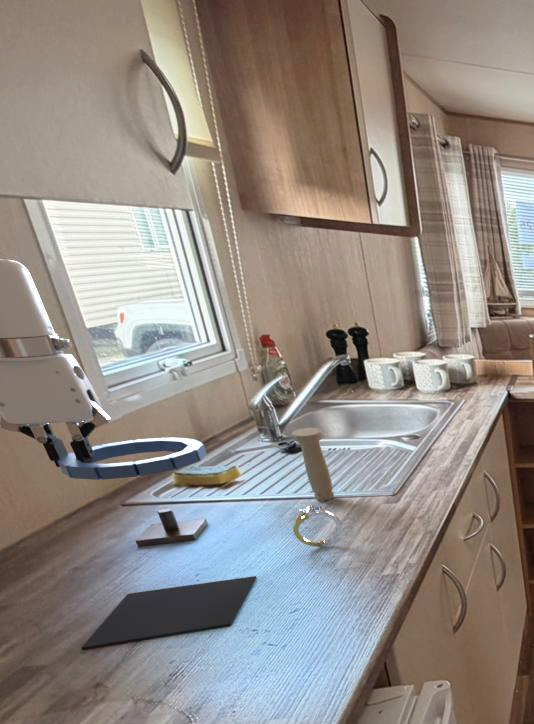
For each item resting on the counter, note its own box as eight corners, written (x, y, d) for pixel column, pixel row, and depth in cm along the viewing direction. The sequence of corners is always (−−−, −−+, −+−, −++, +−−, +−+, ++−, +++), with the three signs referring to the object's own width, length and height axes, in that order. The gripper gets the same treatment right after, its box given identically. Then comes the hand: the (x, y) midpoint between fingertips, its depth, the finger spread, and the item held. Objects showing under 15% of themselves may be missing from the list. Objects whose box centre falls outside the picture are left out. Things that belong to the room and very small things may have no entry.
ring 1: (43, 484, 97) (37, 472, 96) (90, 453, 110) (85, 442, 109) (189, 472, 104) (185, 460, 103) (216, 444, 118) (213, 434, 117)
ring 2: (298, 553, 115) (286, 512, 112) (301, 546, 118) (289, 506, 114) (345, 546, 118) (334, 507, 115) (346, 540, 121) (335, 501, 118)
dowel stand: (137, 546, 114) (126, 521, 112) (153, 529, 121) (143, 505, 119) (195, 540, 118) (185, 515, 116) (208, 523, 124) (199, 500, 122)
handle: (310, 505, 135) (291, 436, 129) (312, 495, 140) (293, 429, 133) (338, 502, 137) (320, 434, 131) (339, 492, 142) (321, 426, 136)
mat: (82, 650, 87) (81, 647, 87) (128, 595, 100) (127, 593, 100) (231, 625, 94) (230, 623, 94) (256, 578, 107) (255, 575, 106)
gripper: (105, 343, 103) (148, 452, 110) (-39, 345, 95) (17, 462, 103) (86, 350, 97) (133, 465, 104) (-70, 353, 89) (-8, 476, 97)
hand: (75, 462), depth 104 cm, fingers closed on ring 1, 2 cm apart
